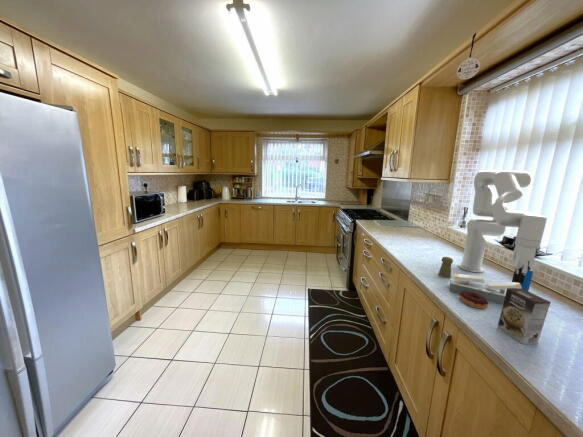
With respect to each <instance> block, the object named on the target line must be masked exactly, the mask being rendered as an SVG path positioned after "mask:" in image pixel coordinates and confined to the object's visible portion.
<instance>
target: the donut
mask: <svg viewBox="0 0 583 437" xmlns="http://www.w3.org/2000/svg"><path fill="white" fill-rule="evenodd" d="M459 299H460V300H461V301H462V302H463V303H464V304H465V305H467V306H470V307H471V308H475V309H486V308H487V307H488V305H489V301H487V300H486V299H485V298H484V297H482V296H481V295H479V294H477V293H474V292H469V291H463V292H461V293H460V294H459Z"/></svg>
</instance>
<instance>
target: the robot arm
mask: <svg viewBox="0 0 583 437" xmlns="http://www.w3.org/2000/svg"><path fill="white" fill-rule="evenodd" d="M532 179H533V178H532V174H531V173H530V172H528V171H526V170H514V169H513V170H511V169H510V170H509V169H506V170H500V169H496V170H495V169H488V170H487V169H485V170H480V171H478V172H477V173H476V174H475V176H474V178H473V188H474V196H473V198H474V199H473V204H472V206H473V207H472V214H473V215H474V216H477V217H481V218H471V219H470V220H468V222H467V224H466V229H467V230H466V232H467V234H466V240H465V244H464V249H463V250H464V251H463V256H462V260H461V262H458V264H457V266H458V267H459V268H460V269H463V270H465V271H468V272H471V273H479V274H480V273H484V272H485V269H484V268H483V267H482V265H483V260H484V255H485V251H486V246H487V241H486V239H485V237H484V236H493V237H500V236H503V235H505V234H504V233H505V232H506V228H508V227H509V228H518V229H517V232H516V236H515V240H514V245H515V246H514V249H513V252H512V255H511V258H510V263H511V265H512V266H513V267H514V270H513V271H514V272H513V275H512V279H511V281H512V280H513V282H517V283H521V284H523V282H524V278H525V274H526V273H527V270H528V271H530V270H532V269H533V266H534V262H535V258H536V253H537V252H536V251H537V250H538V249H540V247H541V243H542V239H543V235H544V232H545V228H546V224H547V222H548V221H547V217H546V216H545V215H541V214H536V213H535V212H531V211H522V210H521V211H520V210H509V206H508V204H509V203H512V202H515V201H518V200H519V199H520V198H522V197H523V195H524V194H523V193H524V191H523V190H522V188H526V187H528V186H530V185H531V183H532ZM491 186H494V187H495V190H496V192H497V196H498V198H496V199H495V200H494V196H495V193H494V191H493V189H492V187H491ZM482 217H483V218H482ZM488 218H492V219H488ZM532 271H533V270H532Z"/></svg>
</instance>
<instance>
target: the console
mask: <svg viewBox="0 0 583 437" xmlns="http://www.w3.org/2000/svg"><path fill="white" fill-rule="evenodd" d="M449 291H450V292H452V293H456V294H459V295H460V293H461V292H463V291H469V292H474V293H477V294H479V295H481V296H482V297H484V298H485V299H486V300H487V301H488V302H491V303H496V304H499V305H502V306H503V303H504V299H505V295H506V291H507V290H489V288H488V285H485V284H480V283H477V282H469V281H460V280H455V278H453V277H451V278H450V281H449Z"/></svg>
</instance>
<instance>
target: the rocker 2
mask: <svg viewBox="0 0 583 437" xmlns="http://www.w3.org/2000/svg"><path fill="white" fill-rule="evenodd" d="M486 284H487V285H486V286H488V288H489V290H507V288H517V289H520V288H522V287H521V285H520V284H519V283H517V282H512V281H511V282H510V281H508V282H487V283H486Z"/></svg>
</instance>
